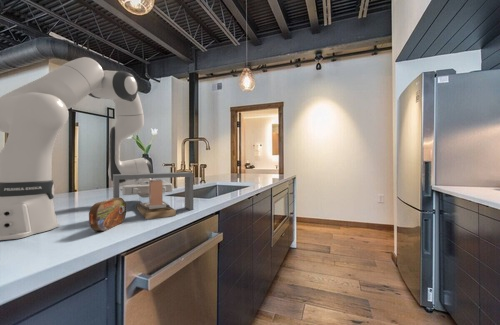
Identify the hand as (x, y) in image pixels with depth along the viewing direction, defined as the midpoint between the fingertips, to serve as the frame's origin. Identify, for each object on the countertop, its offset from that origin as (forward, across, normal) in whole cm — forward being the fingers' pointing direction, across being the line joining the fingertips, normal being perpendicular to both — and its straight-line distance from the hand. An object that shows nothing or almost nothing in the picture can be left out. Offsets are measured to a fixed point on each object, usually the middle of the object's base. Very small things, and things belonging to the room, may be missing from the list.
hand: (151, 190), depth 98 cm
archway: (+7, 0, +8) cm, 10 cm away
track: (+6, 0, +8) cm, 10 cm away
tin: (+20, -16, +8) cm, 27 cm away
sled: (+8, 0, +5) cm, 9 cm away
